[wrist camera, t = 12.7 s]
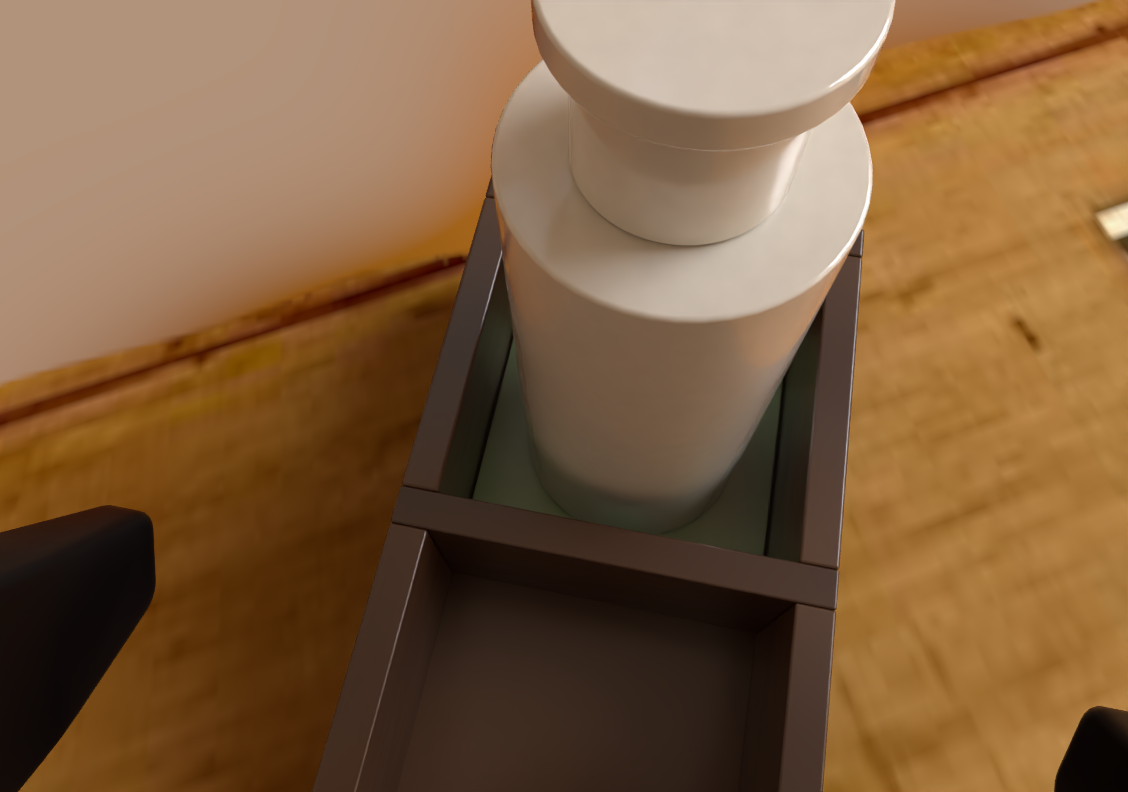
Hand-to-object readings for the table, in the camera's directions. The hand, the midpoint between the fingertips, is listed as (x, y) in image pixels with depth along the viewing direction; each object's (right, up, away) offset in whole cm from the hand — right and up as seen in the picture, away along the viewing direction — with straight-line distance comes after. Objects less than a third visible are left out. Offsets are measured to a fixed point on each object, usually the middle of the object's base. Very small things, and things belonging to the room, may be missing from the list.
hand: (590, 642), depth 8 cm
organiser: (+1, -2, +13) cm, 13 cm away
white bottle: (+2, +1, +14) cm, 14 cm away
